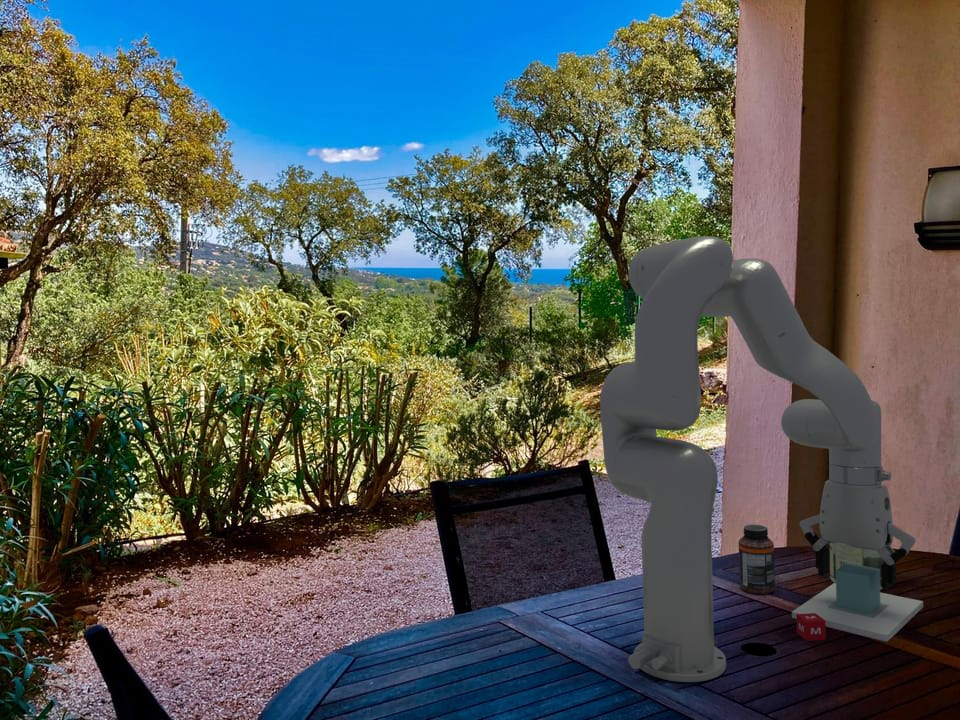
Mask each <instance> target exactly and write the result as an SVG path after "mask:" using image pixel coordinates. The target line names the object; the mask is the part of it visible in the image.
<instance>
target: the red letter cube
mask: <svg viewBox="0 0 960 720" xmlns="http://www.w3.org/2000/svg"><path fill="white" fill-rule="evenodd" d="M796 616H797V619H796V634H798V635H799V636H800V637H801V638H802V639H803V640H805V641H806V642H811V641H825V640H827V634H826V633H827V630H826V628H827V627H826V621H825V620H824V619H823V618H821V617H820V616H819V615H817V614H816V613H808V614H796Z"/></svg>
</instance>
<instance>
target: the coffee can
mask: <svg viewBox="0 0 960 720" xmlns="http://www.w3.org/2000/svg"><path fill="white" fill-rule="evenodd" d="M890 546H891V547H892V544H890ZM829 551H830V572H829V573H830V575H829V579H830V580H831V581H832V582H833V583H836V570H837V569H839V568H840V567H842V566H843V565H845V564H846V563H851V564H856V565H861V566H867V567H872V568H877V569H880V591H883V590H884V589H883V588H882V587H881V566H882V564H883V563H884V560H883V558H882V557H881V556H880V555H879V553H878V552H877V551H876V550H869V549H863V548H857V547H852V546H846V545H841V544H835V543H831V542H830V543H829Z"/></svg>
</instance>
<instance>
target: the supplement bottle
mask: <svg viewBox="0 0 960 720" xmlns="http://www.w3.org/2000/svg"><path fill="white" fill-rule="evenodd" d="M768 535H769V534H768V527H767V526H765V525H763V524H762V525H761V524H746V525H744V526H743V536H742V537H741V538H740V539H739V540H738V564H739V565H738V566H739V568H738V569H739V570H738V571H739V586H740V588H741V590H743V591H744V592H747V593H750V594H755V595H766V594H770V593H773V592H774V591H775V589H776V577H775V576H776V574H775V571H776V570H775V545H774V542H773V540H772V539H771V538H769V536H768Z"/></svg>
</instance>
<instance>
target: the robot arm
mask: <svg viewBox="0 0 960 720" xmlns="http://www.w3.org/2000/svg"><path fill="white" fill-rule="evenodd" d="M628 280H629V284H630V287H631V288H632V289H633V291H634V292H635V294H636V295H637V296H639V298H640V299H642V302H641V304H640V306H639V309H638V310H637V314H636V317H635V324H634V361H629V362H624V363H621V364H619V365H617V366H615V367H614V368H613V369H612V370H611V371H610V372H609V373H608V374H607V376H606V377H605V379H604V382H603V384H602V388H601V391H600V397H599V398H600V399H599V405H600V406H599V408H600V410H599V411H600V421H601V422H600V424H601V437H602V449H603V459H604V466H605V472H606V475H607V477H608V479H609V482H610V483H611V486H613V487H614V488H615V489H616V490H617V491H618V492H620V493H622V494H623V495H626V496H627V497H628V496H629V497H632V498H635V499H638V500H642V501H644V502H648V503H650V508H649V512H648V513H647V516H646V519H645V522H644V524H643V528H642V532H641V556H642V557H641V560H642V561H641V562H642V564H641V565H642V566H641V567H642V596H643V597H642V598H643V629H644V630H643V631H644V633H643V635H642V637H641V638H642V639H641V642H640V643H639V644H638V645H637V646H636V647H635V648H634V650H633V653H632V654H630V655H629V656H628V658H627V659H628V661H627V662H628V665H629V666H630V667H631V668H632V669H634V670H638V669H640V670H641V671H643V672H644V673H645V674H648V675H650V676H652V677H655V678H657V679H660V680H661V679H662V680H667V681H672V682H676V683H677V682H678V683H699V682H706V681H709V680H713V679H716V678H718V677H720V676H721V675H722V674H723V673H724V672H725V671H726V668H727V658H726V656H725V653H724V652H723V651H722V650H720V649H719V648H718V647H716V646H715V634H714V633H715V631H714V629H715V628H714V625H715V624H714V623H715V622H714V595H713V594H714V589H713V583H714V582H713V554H712V521H713V512H714V505H715V499H716V495H717V488H718V478H719V475H718V469H717V465H716V463H715V461H714V459H713V457H712V456H711V455H710V454H709V453H708V452H707V451H706V450H705V449H704V448H702V447H701V446H699V445H696V444H694V443H692V442H689V441H685V440H682V439H675V438H671V437H670V438H669V437H664V436H657V430H661V431H667V432H669V431H670V432H671V431H673V432H674V431H683V430H687V429H689V428H690V427H692V426H693V425H694V424H695V423H696V422H697V420H698V419H699V417H700V413H701V408H702V394H701V393H702V392H701V377H700V376H701V375H700V364H699V362H700V361H699V349H698V348H699V345H698V330H699V325H700V321H701V319H702V317H705V318H706V317H707V318H718V317H730V318H731V319H732V321H733V322H734V323H735V326H736V327H737V330H738V331H739V333H740V335H741V337H742V339H743V340H744V342H745V344H746V345H747V347H748V349H749V351H750V353H751V355H752V357H753V359H754V361H755V362H756V363H757V365H758V366H759V367H761V368H762V369H763V370H766V371H767V372H769V373H771V374H773V375H775V376H777V377H779V378H781V379H784V380H786V381H789V382H790V383H793V384H795V385H796V386H799V387H802V388H803V389H804V390H806V391H808V392H809V393H811V394H812V395H814V396H815V397H816V398H818V399H813V398H812V399H811V398H808V399H807V398H805V399H799V400H796V401H794V402H792V403H791V404H789V405H788V406H787V407H786V408H785V409H784V411H783V413H782V415H781V421H780V422H781V428H782V431H783V433H784V435H785V436H786V437H787V438H788V439H789V440H791V441H792V442H794V443H795V444H799V445H802V446H806V447H812V448H820V449H828V459H829V460H828V463H829V464H828V465H829V466H828V467H829V468H828V471H829V472H828V473H829V475H828V479H827V480H825V482H824V486H823V490H822V496H821V501H820V508H819V509H820V510H819V514H816V515H814V516H811V517H808V518H805V519H803V520H800V521H799V526H800V528H801V530H802V533H803V534H804V538H805V539H806V541H807V542H808V543H809V544H810V545H811V547H812V550H813V551H815V568H816V570H817V575H818V576H820V577H823V576H826V575H827V574H829V573H830V548H828V545H830V542H831V543H835V544H841V545H846V546H852V547H857V548H863V549H869V550H876V551H877V552H878V553H879V555H880V556H881V557H882V558H883V560H884V563H883V564H882V566H881V587H882V588H883V589H882V590H885V591H888V590H889V589H890V588H892V587H893V585H895V584H896V583H897V562H898V561H900V560H902V558H904V557H905V556H907V555H909V552H910V551H911V549H912V548H913V546H914V545H915V543H916V542H917V541H916V538H915V537H913V536H912V535H910V534H909V533H907V532H905V530H902V529H901V528H899V527H897V526H896V525H894V524H893V513H892V505H891V498H890V493H889V488H888V486H887V485H886V484H883V482H885V481H889V482H890V481H891V480H892V473H891V472H890V471H886V470H884V469H883V466H882V409H881V408H882V407H881V405H880V404H879V403H878V402H877V401H875V400H872V399H871V396H870V394H869V392H868V390H867V388H866V386H865V385H864V383H863V381H862V380H861V378H859V376H858V375H857V374H856V372H854V371H853V369H851V368H850V367H849V366H848V365H847V364H846V363H844V362H843V361H842V360H841V359H839V358H838V357H837V356H836V355H835V354H833V353H832V352H830V350H828V349H827V348H825V347H824V346H822V345H821V344H819V343H818V342H816V341H815V340H814V339H813V338H812V336H811V335H810V334H809V332H808V329H806V327H805V324H804V321H803V320H802V319H801V317H800V314H799V313H798V311H797V309H796V307H795V305H794V303H793V301H792V299H791V297H790V295H789V293H788V291H787V289H786V287H785V285H784V283H783V281H782V279H781V278H780V275H779V274H778V271H777V270H776V268H775V267H774V266H773V265H772V264H771V263H770V262H769V261H767V260H764V259H761V258H752V257H751V258H741V259H734V254H733V250H732V249H731V247H730V245H729V243H728V242H727V241H725V240H724V239H722V238H720V237H717V236H712V235H711V236H709V235H705V236H704V235H703V236H694V237H688V238H683V239H677V240H674V241H670V242H665V243H660V244H654V245H651V246H648V247H645V248H643V249H641V250H640V251H639V252H637V253H636V254H635V255H634V257H633V258H632V260H631V261H630V263H629V267H628ZM816 524H818V525H819V526H818V529H819V531H818V532H819V535H817V533H816V532H815V531H814V529H813V526H814V525H816ZM819 536H820V537H819ZM894 538H895V539H897V540H898V541H900V543H901V544H900V546H899V548H898V549H897V550H896V551H895V549H893V547H892V544H893V543H894V542H893V541H894ZM890 544H891V546H890Z"/></svg>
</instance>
